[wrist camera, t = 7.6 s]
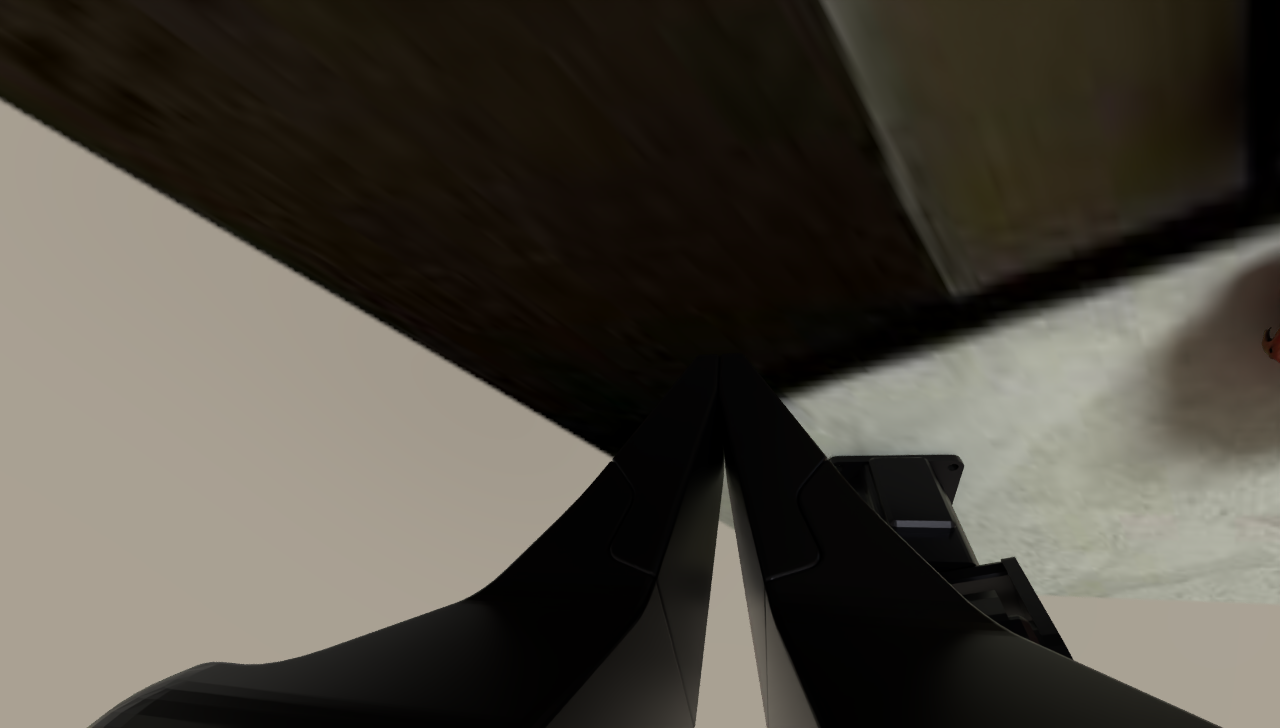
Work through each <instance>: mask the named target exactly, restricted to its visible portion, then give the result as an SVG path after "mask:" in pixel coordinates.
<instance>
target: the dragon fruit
mask: <svg viewBox="0 0 1280 728" xmlns="http://www.w3.org/2000/svg"><path fill="white" fill-rule="evenodd" d="M1270 329H1271V328H1269V329H1267V330H1266V331H1264V337H1263V341H1262V347H1263V349H1264V351H1265V353H1267V354H1268V355H1269V357H1270V358H1272V359H1275V360H1276V361H1278V362H1279V363H1280V328H1279V330H1278V331H1277V332H1276V334H1275V336H1274V338H1270Z"/></svg>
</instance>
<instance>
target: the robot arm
mask: <svg viewBox="0 0 1280 728" xmlns="http://www.w3.org/2000/svg"><path fill="white" fill-rule="evenodd" d="M724 457H725V468H726V476H727V483H728V489H729V495H730V502H731V508H732V514H733V520H734V526H735V533H736V539H737V545H738V551H739V557H740V564H741V570H742V575H743V582H744V588H745V595H746V601H747V607H748V612H749V619H750V625H751V632H752V638H753V644H754V650H755V656H756V662H757V669H758V675H759V681H760V688H761V694H762V699H763V706H764V712H765V719H766V725H767V728H1222V727H1220V726H1218V725H1215V724H1213V723H1211V722H1209V721H1207V720H1204V719H1202V718H1200V717H1198V716H1196V715H1194V714H1191V713H1189V712H1187V711H1185V710H1182V709H1180V708H1178V707H1176V706H1173V705H1171V704H1169V703H1167V702H1165V701H1163V700H1160V699H1158V698H1156V697H1153V696H1151V695H1149V694H1147V693H1145V692H1142V691H1140V690H1138V689H1136V688H1134V687H1132V686H1129V685H1127V684H1125V683H1123V682H1120V681H1118V680H1116V679H1114V678H1111V677H1109V676H1107V675H1105V674H1103V673H1101V672H1098V671H1096V670H1094V669H1092V668H1090V667H1087V666H1085V665H1083V664H1081V663H1078V662H1076V661H1074V660H1073V658H1072V656H1071V654H1070V653H1069V651H1068V649H1067V647H1066V645H1065V643H1064V642H1063V640H1062V638H1061V636H1060V635H1059V633H1058V631H1057V629H1056V628H1055V626H1054V624H1053V623H1052V621H1051V619H1050V617H1049V615H1048V614H1047V612H1046V610H1045V609H1044V607H1043V605H1042V603H1041V601H1040V600H1039V598H1038V596H1037V595H1036V593H1035V591H1034V589H1033V588H1032V586H1031V584H1030V582H1029V581H1028V579H1027V577H1026V576H1025V574H1024V572H1023V570H1022V569H1021V567H1020V565H1019V563H1018V562H1017V560H1016V558H1015V557H1011V558H1005V559H1001V562H995V563H990V564H984V565H979V563H978V561H977V559H976V557H975V554H974V552H973V550H972V548H971V546H970V544H969V541H968V539H967V537H966V535H965V533H964V531H963V528H962V526H961V524H960V522H959V520H958V518H957V515H956V513H955V511H954V509H953V507H952V504H953V500H954V497H955V494H956V491H957V488H958V485H959V481H960V478H961V475H962V472H963V469H964V464H963V462H962V460H961V459H960V457H959V456H956V455H897V456H836V457H833V458H831V459H830V460H827V457H826V455H825V454H824V453H823V452H822V451H821V449H820V448H819V447H818V446H817V444H816V443H815V442H814V441H813V439H812V438H811V437H810V436H809V435H808V433H807V432H806V431H805V430H804V428H803V427H802V426H801V425H800V423H799V422H798V421H797V420H796V419H795V417H794V416H793V415H792V414H791V412H790V411H789V410H788V409H787V408H786V406H785V405H784V404H783V403H782V401H781V400H780V399H779V398H778V396H777V395H776V394H775V393H774V392H773V390H772V389H771V388H770V387H769V385H768V384H767V383H766V382H765V380H764V379H763V378H762V377H761V376H760V374H759V373H758V372H757V371H756V369H755V368H754V367H753V366H752V365H751V363H750V362H749V361H748V360H747V358H746V357H745V356H744V355H743V354H742V353H731V354H722V355H721V356H720V357H719V355H717V354H712V355H699V356H697V357H696V358H695V359H694V360H693V362H692V363H691V364H690V365H689V367H688V368H687V369H686V370H685V371H684V373H683V374H682V375H681V376H680V378H679V379H678V380H677V381H676V382H675V384H674V385H673V386H672V387H671V388H670V390H669V391H668V392H667V393H666V395H665V396H664V397H663V398H662V399H661V401H660V402H659V403H658V404H657V406H656V407H655V408H654V409H653V410H652V412H651V413H650V414H649V415H648V416H647V418H646V419H645V420H644V421H643V423H642V424H641V425H640V426H639V427H638V429H637V430H636V431H635V432H634V434H633V435H632V436H631V437H630V438H629V440H628V441H627V442H626V443H625V444H624V446H623V447H622V448H621V449H620V451H619V452H618V453H617V454H616V455H615V457H614V458H613V462H612V461H611V462H609V464H608V465H607V466H606V467H605V469H604V470H603V471H602V472H601V473H600V475H599V476H598V477H597V478H596V479H595V481H593V483H592V484H591V485H590V486H589V487H588V488H587V489H586V491H585V492H584V493H583V494H582V495H581V496H580V497H579V498H578V499H577V500H576V502H574V504H573V505H571V507H569V508H568V510H567V511H566V512H565V513H564V514H563V515H562V516H561V517H560V518H559V519H558V520H557V521H556V522H555V523H553V524H552V526H550V527H549V528H548V529H547V530H546V531H545V532H544V533H543V534H542V535H541V536H540V537H539V538H538V539H537V540H536V541H535V542H534V543H533V544H532V545H531V546H530V547H529V548H528V549H527V550H526V551H525V552H524V553H523V554H522V555H521V556H519V558H517V559H516V560H515V561H514V562H513V563H512V564H511V565H510V566H509V567H508V568H507V569H506V570H505V571H504V572H503V573H502V574H500V575H499V576H498V577H497V578H496V579H495V580H494V581H492V582H491V583H490V584H488V585H487V586H486V587H484V588H483V589H481V590H480V591H479V592H477V593H475V594H474V595H472V596H470V597H468V598H466V599H464V600H462V601H459V602H457V603H454V604H451V605H448V606H446V607H443V608H440V609H437V610H434V611H431V612H429V613H426V614H423V615H420V616H417V617H414V618H412V619H409V620H406V621H403V622H400V623H398V624H395V625H392V626H389V627H387V628H383V629H381V630H378V631H375V632H372V633H369V634H367V635H364V636H361V637H358V638H355V639H352V640H350V641H347V642H344V643H341V644H338V645H335V646H333V647H330V648H327V649H324V650H321V651H317V652H314V653H311V654H308V655H305V656H301V657H297V658H293V659H289V660H284V661H280V662H273V663H266V664H246V665H245V664H236V663H226V662H209V663H204V664H200V665H197V666H195V667H192V668H190V669H187V670H185V671H182V672H180V673H177V674H175V675H173V676H170V677H168V678H166V679H163V680H162V681H159V682H157V683H155V684H152V685H150V686H149V687H147V688H145V689H143V690H141V691H139V692H137V693H136V694H134V695H132V696H131V697H129V698H127V699H126V700H124V701H122V702H121V703H119V704H118V705H116V706H115V707H114V708H113V709H111V710H109V711H108V712H107V713H105V714H104V715H103V716H101V717H100V718H99V719H98V720H96V721H95V722H94V723H93V724H91V725H90V726H89V727H87V728H694V727H695V721H696V712H697V704H698V696H699V686H700V678H701V669H702V661H703V651H704V643H705V635H706V625H707V616H708V608H709V600H710V591H711V581H712V573H713V565H714V564H713V563H714V556H715V547H716V538H717V530H718V521H719V513H720V504H721V495H722V486H723V477H724ZM951 464H952V465H951ZM837 465H840V466H837Z"/></svg>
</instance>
